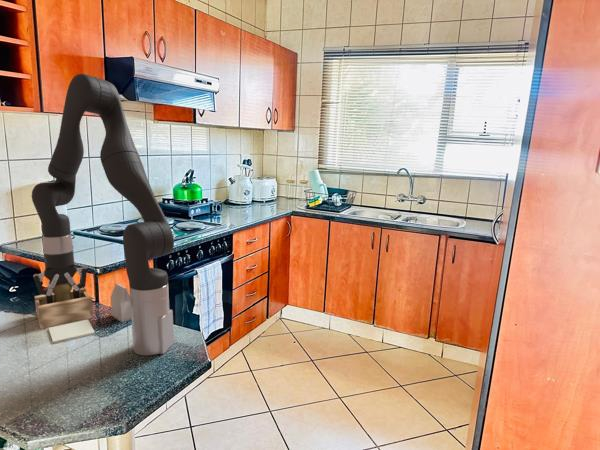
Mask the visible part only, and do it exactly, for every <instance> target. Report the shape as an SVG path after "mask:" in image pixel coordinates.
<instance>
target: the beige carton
mask: <svg viewBox="0 0 600 450" xmlns="http://www.w3.org/2000/svg"><path fill="white" fill-rule="evenodd" d="M110 308H111V309H110V310H111V312H110V313H111V317H113V316H114V317H113V318H115V319H116V318H117V319H116V320H117V321H119V322H120V323H124V322H127V321H130V320H131V321H132V319H131V304H130V292H129V291H128V289H127V288H126V286H123V285H121V284H118V283H115V284H114V288H113V290H112V293H111V295H110Z"/></svg>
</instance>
